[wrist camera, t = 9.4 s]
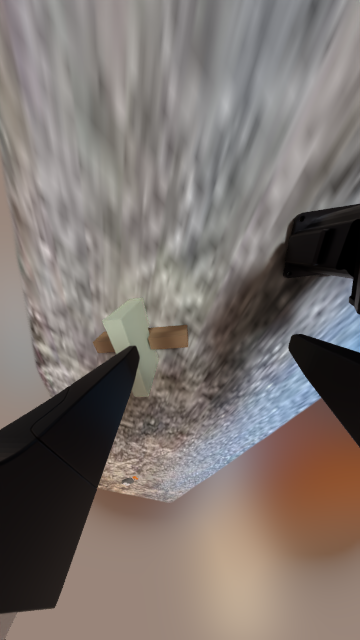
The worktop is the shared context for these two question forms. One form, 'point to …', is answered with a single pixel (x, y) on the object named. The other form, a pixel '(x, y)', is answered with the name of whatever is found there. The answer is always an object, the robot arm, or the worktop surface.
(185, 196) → the worktop surface
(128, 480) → the key chain
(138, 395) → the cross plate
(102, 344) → the walnut rail
